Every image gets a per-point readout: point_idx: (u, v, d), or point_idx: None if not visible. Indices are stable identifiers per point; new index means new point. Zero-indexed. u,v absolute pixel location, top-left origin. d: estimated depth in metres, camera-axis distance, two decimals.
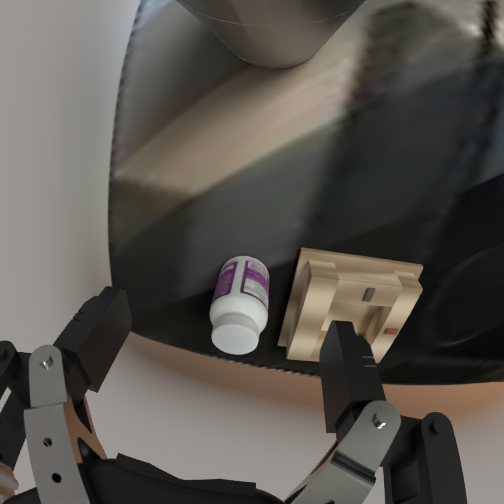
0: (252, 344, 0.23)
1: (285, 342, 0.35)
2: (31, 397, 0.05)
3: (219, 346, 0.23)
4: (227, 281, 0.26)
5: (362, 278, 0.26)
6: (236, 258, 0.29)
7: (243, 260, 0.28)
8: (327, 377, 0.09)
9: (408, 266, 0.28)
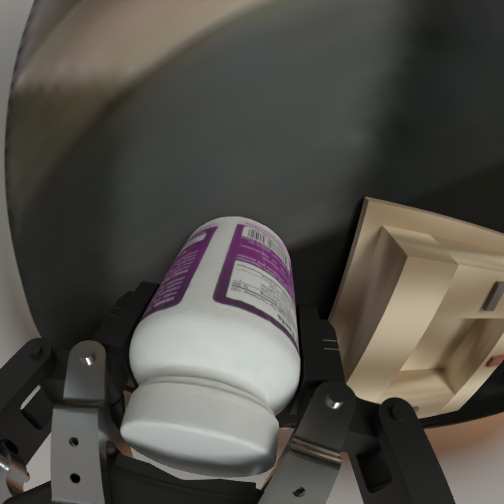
0: (255, 468, 0.05)
1: None
2: (65, 391, 0.05)
3: (154, 458, 0.06)
4: (182, 268, 0.09)
5: (486, 262, 0.09)
6: (215, 221, 0.12)
7: (231, 223, 0.11)
8: None
9: None
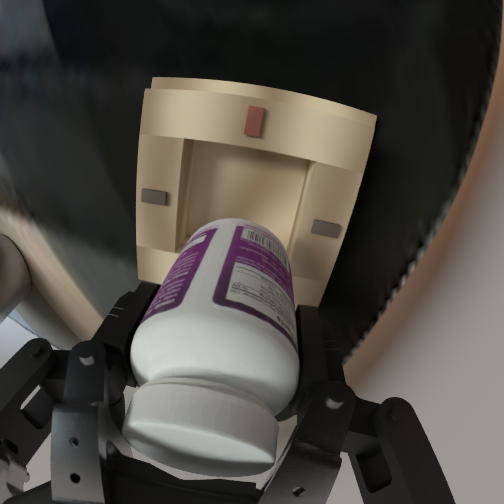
0: (255, 468, 0.05)
1: None
2: (65, 392, 0.05)
3: (155, 459, 0.06)
4: (182, 270, 0.09)
5: None
6: (215, 223, 0.12)
7: (231, 225, 0.12)
8: None
9: None
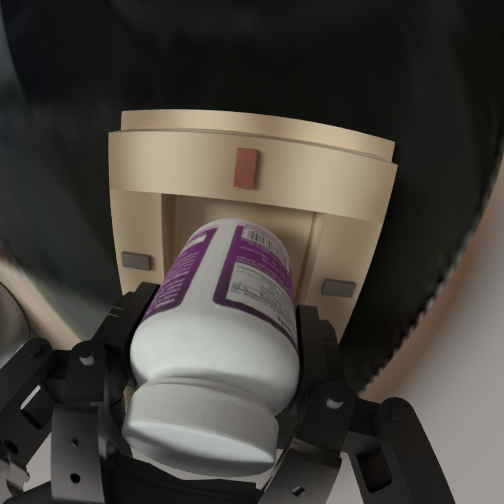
0: (255, 468, 0.05)
1: None
2: (65, 392, 0.05)
3: (155, 459, 0.06)
4: (182, 270, 0.09)
5: None
6: (215, 222, 0.12)
7: (231, 225, 0.11)
8: None
9: None
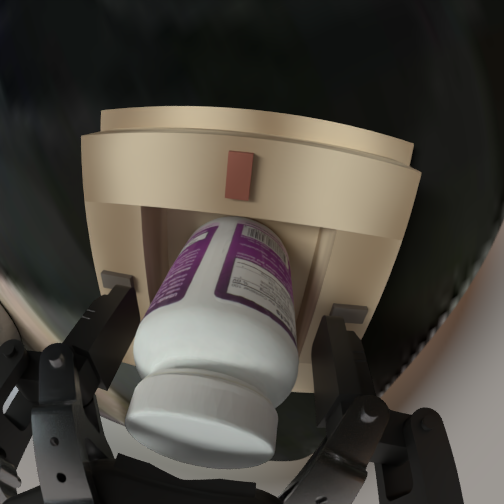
0: (255, 458, 0.06)
1: None
2: (40, 395, 0.05)
3: (157, 450, 0.06)
4: (184, 266, 0.09)
5: None
6: (216, 220, 0.12)
7: (231, 223, 0.12)
8: (318, 372, 0.09)
9: None
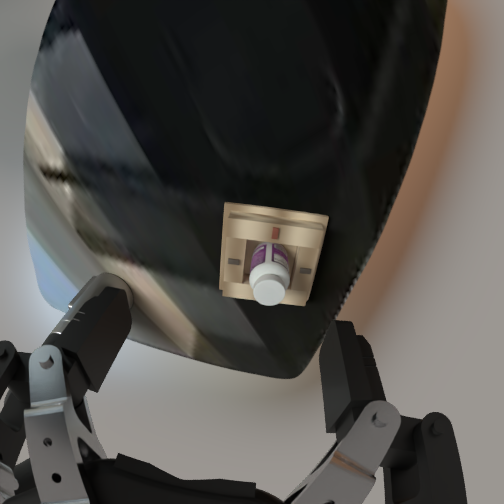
0: (281, 296, 0.34)
1: None
2: (31, 398, 0.05)
3: (258, 299, 0.34)
4: (261, 255, 0.37)
5: None
6: (265, 242, 0.40)
7: (270, 243, 0.40)
8: (327, 377, 0.09)
9: (224, 217, 0.40)
